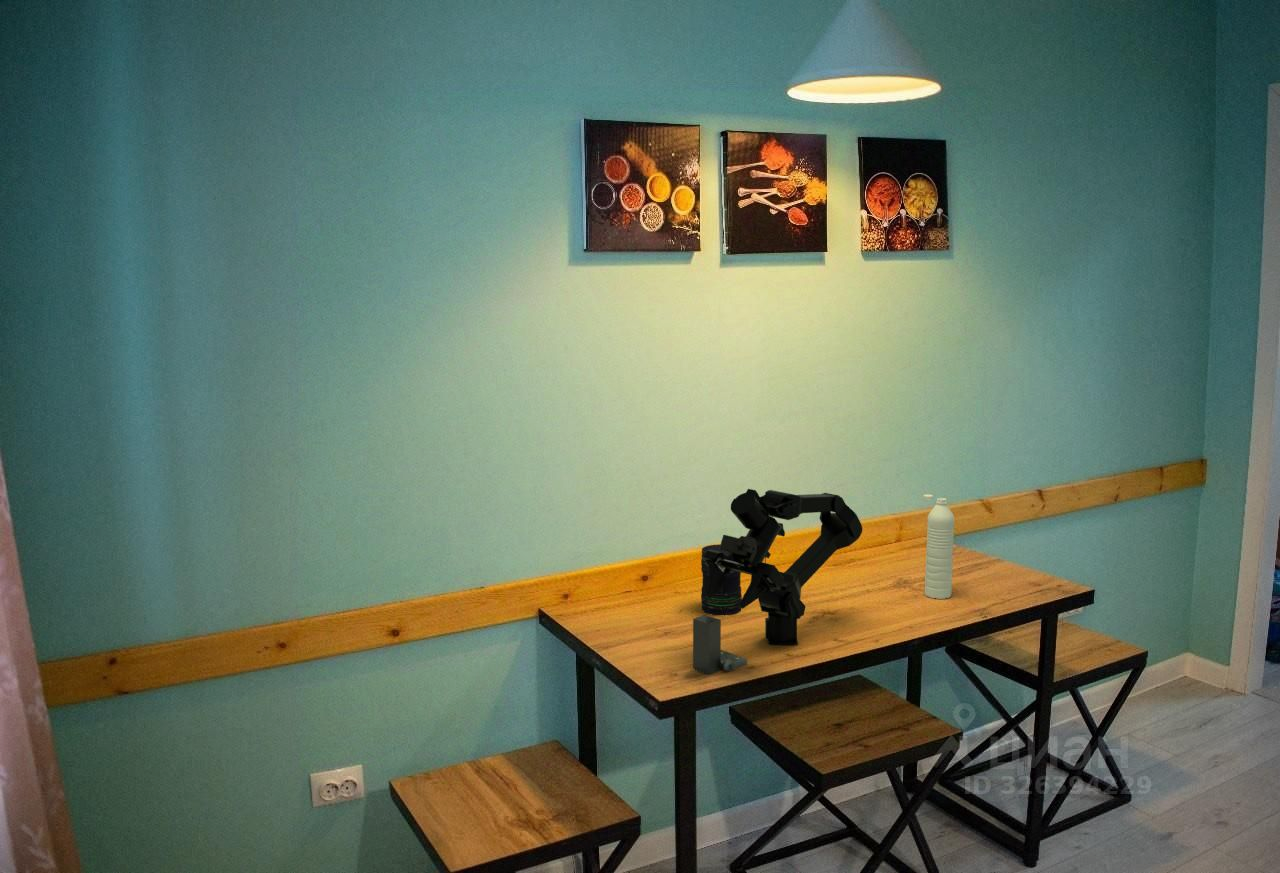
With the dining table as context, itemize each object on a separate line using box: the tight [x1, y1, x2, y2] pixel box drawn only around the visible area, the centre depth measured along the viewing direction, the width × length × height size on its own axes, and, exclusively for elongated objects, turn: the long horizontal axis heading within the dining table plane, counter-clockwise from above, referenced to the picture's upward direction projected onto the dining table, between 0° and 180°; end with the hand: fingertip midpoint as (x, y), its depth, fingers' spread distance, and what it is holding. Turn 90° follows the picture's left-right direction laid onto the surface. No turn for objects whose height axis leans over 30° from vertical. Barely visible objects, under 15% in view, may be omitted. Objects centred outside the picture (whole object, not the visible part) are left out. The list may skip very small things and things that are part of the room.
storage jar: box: [700, 544, 743, 617], centre depth 260 cm, size 10×10×15 cm
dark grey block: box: [692, 614, 722, 676], centre depth 222 cm, size 4×4×11 cm
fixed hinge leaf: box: [721, 649, 748, 672], centre depth 226 cm, size 7×8×2 cm
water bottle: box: [922, 494, 955, 600], centre depth 270 cm, size 9×6×25 cm
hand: (723, 602), depth 225 cm, fingers open, 9 cm apart
